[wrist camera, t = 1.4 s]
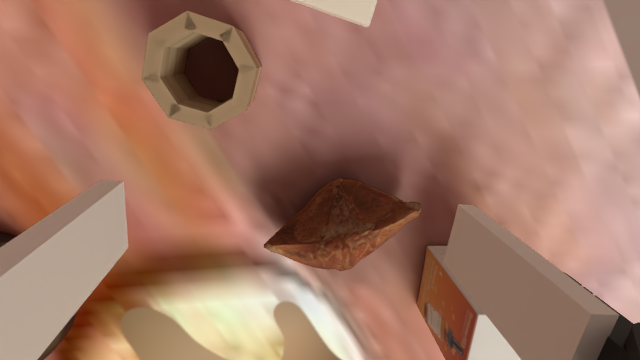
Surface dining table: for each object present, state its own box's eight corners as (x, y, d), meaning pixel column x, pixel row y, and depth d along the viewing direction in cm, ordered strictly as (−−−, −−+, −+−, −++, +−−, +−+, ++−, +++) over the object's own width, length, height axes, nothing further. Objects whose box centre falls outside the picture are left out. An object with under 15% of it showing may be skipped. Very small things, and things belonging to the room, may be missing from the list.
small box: (425, 243, 37) (477, 312, 27) (475, 243, 37) (544, 310, 27) (415, 306, 39) (459, 389, 29) (462, 305, 40) (520, 386, 30)
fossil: (251, 267, 32) (304, 285, 23) (257, 176, 33) (309, 162, 24) (362, 264, 38) (435, 277, 30) (363, 188, 39) (434, 180, 31)
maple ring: (165, 99, 29) (136, 109, 24) (180, 11, 27) (153, -1, 22) (248, 122, 31) (239, 137, 25) (268, 40, 29) (264, 36, 23)
